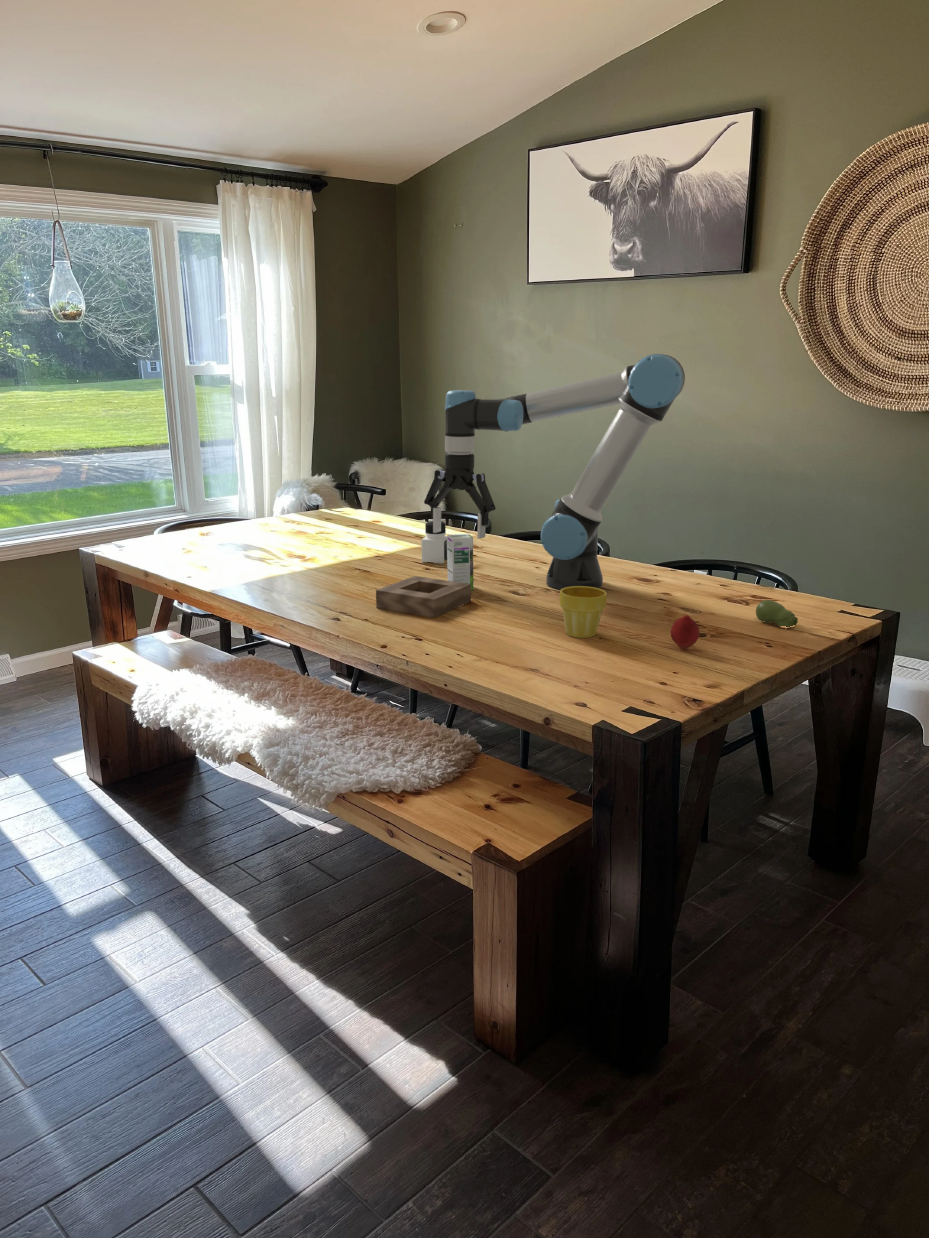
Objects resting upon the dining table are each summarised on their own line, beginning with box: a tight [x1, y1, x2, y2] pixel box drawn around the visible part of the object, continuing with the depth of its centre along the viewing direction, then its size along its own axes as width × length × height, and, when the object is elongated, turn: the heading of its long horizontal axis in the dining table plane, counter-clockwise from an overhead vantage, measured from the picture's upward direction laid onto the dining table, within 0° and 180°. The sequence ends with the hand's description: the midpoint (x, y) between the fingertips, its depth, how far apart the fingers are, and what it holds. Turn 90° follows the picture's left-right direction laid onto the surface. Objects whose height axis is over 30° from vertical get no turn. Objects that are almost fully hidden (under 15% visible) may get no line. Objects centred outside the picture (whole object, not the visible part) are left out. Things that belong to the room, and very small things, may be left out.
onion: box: [670, 612, 700, 650], centre depth 187 cm, size 6×6×8 cm
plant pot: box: [558, 586, 608, 639], centre depth 198 cm, size 10×10×10 cm
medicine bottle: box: [420, 520, 447, 564], centre depth 268 cm, size 7×7×12 cm
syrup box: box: [446, 533, 474, 591], centre depth 235 cm, size 6×6×14 cm
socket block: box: [375, 575, 472, 619], centre depth 222 cm, size 17×17×4 cm
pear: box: [755, 599, 799, 627], centre depth 205 cm, size 6×5×10 cm
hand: (458, 535), depth 233 cm, fingers open, 13 cm apart
